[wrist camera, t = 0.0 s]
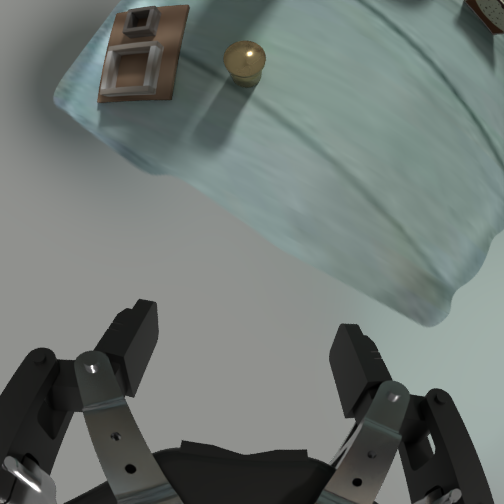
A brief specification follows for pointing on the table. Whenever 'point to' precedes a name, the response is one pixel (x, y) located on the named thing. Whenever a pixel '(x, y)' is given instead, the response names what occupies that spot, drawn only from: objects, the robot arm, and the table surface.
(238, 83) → the gold round-topped cylinder
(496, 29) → the food container
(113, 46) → the collar base
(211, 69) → the table surface
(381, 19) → the table surface
